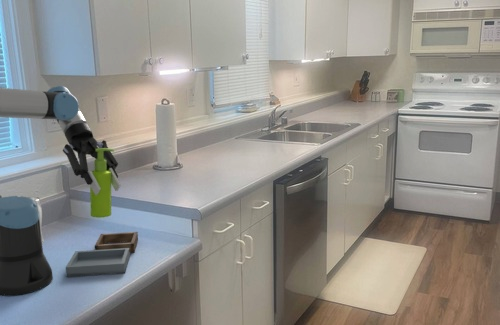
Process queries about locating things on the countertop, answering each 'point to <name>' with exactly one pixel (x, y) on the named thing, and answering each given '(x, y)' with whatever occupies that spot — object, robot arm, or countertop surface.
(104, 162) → the soap dispenser
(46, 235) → the countertop surface
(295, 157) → the countertop surface
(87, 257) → the tray
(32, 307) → the countertop surface
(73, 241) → the countertop surface
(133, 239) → the holder collar
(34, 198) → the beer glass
